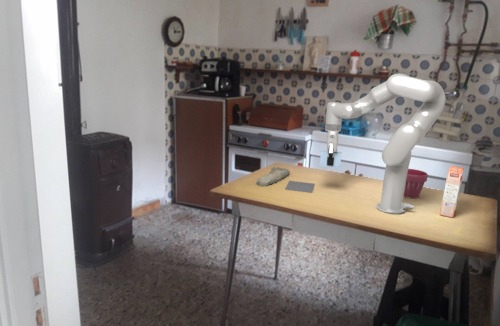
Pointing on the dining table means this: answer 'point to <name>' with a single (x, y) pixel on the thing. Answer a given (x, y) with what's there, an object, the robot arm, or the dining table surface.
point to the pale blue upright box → (336, 159)
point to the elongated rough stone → (273, 176)
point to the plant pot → (414, 183)
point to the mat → (300, 186)
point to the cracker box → (451, 191)
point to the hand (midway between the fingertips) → (330, 163)
